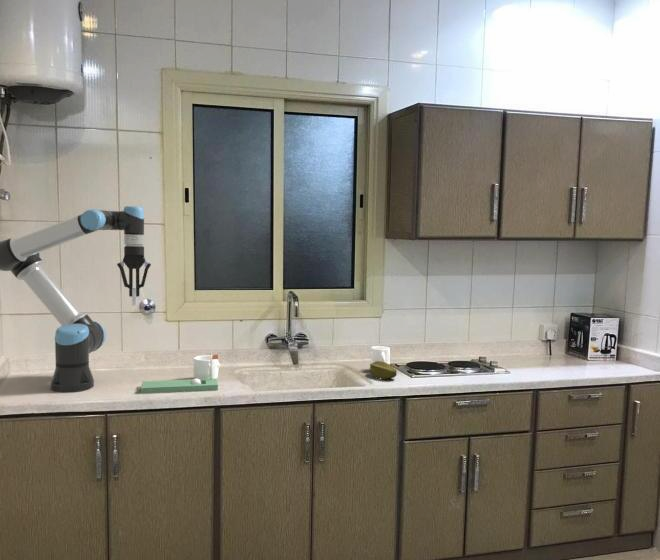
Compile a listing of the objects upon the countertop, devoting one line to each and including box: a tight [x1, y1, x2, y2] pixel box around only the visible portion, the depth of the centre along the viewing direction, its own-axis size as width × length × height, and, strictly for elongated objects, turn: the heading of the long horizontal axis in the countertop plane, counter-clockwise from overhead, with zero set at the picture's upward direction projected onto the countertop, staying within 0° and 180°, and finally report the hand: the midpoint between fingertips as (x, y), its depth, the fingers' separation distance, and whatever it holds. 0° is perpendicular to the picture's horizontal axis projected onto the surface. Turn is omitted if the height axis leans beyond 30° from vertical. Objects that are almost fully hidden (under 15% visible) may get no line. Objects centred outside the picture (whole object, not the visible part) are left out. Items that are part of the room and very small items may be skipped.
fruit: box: [369, 361, 397, 380], centre depth 254 cm, size 11×12×7 cm
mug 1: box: [193, 354, 221, 380], centre depth 242 cm, size 12×10×9 cm
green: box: [140, 354, 219, 394], centre depth 229 cm, size 29×10×12 cm, turn 105°
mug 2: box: [370, 345, 391, 365], centre depth 264 cm, size 12×8×10 cm
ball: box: [191, 378, 201, 384], centre depth 230 cm, size 4×4×4 cm
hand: (134, 304), depth 238 cm, fingers closed
